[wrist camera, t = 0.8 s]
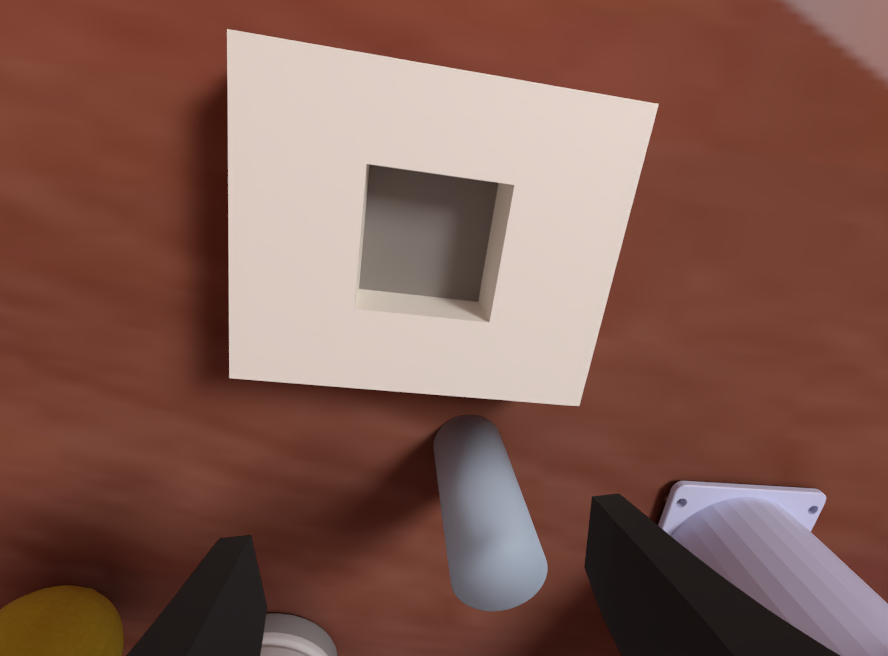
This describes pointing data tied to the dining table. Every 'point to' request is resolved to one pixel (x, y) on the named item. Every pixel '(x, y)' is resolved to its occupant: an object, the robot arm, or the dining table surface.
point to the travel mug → (294, 637)
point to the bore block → (420, 222)
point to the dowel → (485, 518)
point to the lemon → (61, 624)
